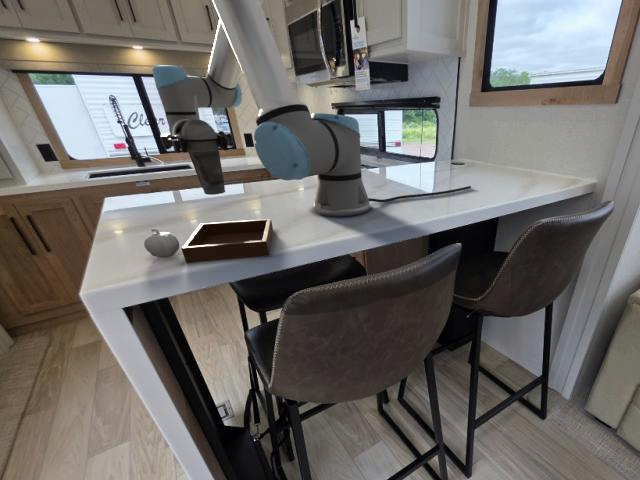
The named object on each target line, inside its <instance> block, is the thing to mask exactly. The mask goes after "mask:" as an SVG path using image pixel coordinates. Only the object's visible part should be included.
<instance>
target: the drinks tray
mask: <svg viewBox="0 0 640 480" xmlns="http://www.w3.org/2000/svg"><path fill="white" fill-rule="evenodd" d="M273 227H274V226H273V222H272V219H271V218H263V219H249V220H233V221H218V222H206V223H204V222H203V223H199V225H198V226H197V227H196V228H195V230H194V231H193V232H192V234H191V235H190V236H189V238H188V239H187V240H186V241H185V242H184V244H183V245H182V247H181V248H180V249H181V252H182V255H183V258H184V261H185V264H196V263H206V262H218V261H226V260H227V261H228V260H239V259H249V258H250V259H251V258H259V257H261V258H262V257H269V256H270V254H271V248H272V242H273V236H274V228H273Z"/></svg>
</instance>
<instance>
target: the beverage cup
mask: <svg viewBox="0 0 640 480" xmlns="http://www.w3.org/2000/svg"><path fill="white" fill-rule="evenodd" d="M193 96H194V103H195V109H196V116H197V120H188V121H187V122H185V124H184V125H183V127H182V131H181V135H182V138H183V139H184V142H185V145H186V149H187V153H188V155H189V157H190V160H191V162H192V165H193V168H194V170H195V173H196V176H197V179H198V181H199V183H200V186H201V188H202V190H203V193H204V194H205V195H208V196H209V195H210V196H211V195H215V196H216V195H220V194H224V193H226V186H225V185H226V184H225V179H224V174H223V168H222V160H221V154H220V150H219V149H220V148H219V143H218V140H219V139H218V138H217V135H216V133H215V132H216V131H215V129H214V128H213V126H211V124H209V123H208V122H206V121H205V120H203V119H201V118H200V112H199V108H198V104H197V98H196V96H195V95H193Z"/></svg>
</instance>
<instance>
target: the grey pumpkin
mask: <svg viewBox="0 0 640 480" xmlns="http://www.w3.org/2000/svg"><path fill="white" fill-rule="evenodd" d="M150 231H151V232H153V233H151V234H150V235H148V236H147V237H146V238H145V240H144V242H143V246H144V249H145V250H146V251H147V252H148V253H149V254H150V255H151V256H153V257H156V258H162V259H165V258H171V257H173V256H174V255H175V254H176V253H177V252H178V251H179V249H180V241H179V239H178V238H177V236H175V235H174V234H173V233H171V232H169V231H160V230H159V229H158V228H151V229H150Z"/></svg>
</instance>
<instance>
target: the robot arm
mask: <svg viewBox="0 0 640 480" xmlns="http://www.w3.org/2000/svg"><path fill="white" fill-rule="evenodd" d="M211 1H212V3H213V6H214V8H215V10H216V13H217V16H218V17H219V20H218V25H217V29H216V34H215V39H214V42H213V47H212V51H211V54H210V59H209V64H208V69H207V71H206V76H195V75H187V73H186V70H185V68H184V67H182V66H179V65H178V66H177V65H166V64H165V65H154V66H153V67H152V70H151V71H152V75H153V76H152V77H153V80H154V84H155V88H156V90H157V93H158V95H159V99H160V101H161V104H162V108H163V110H164V113H165V118H166V121H167V124H168V131H169V133H165V132H162V133H160V140H161V143H162V146H163V149H164V150H170V149H171V148H172V147H173V151H174V153H183V154H184V153H185V154H186V153H187V154H188V151H187V149H186V145H185V142H184V139H183V138H182V135H181V131H182V127H183V125H184V124H185V122H187V121H188V120H197V116H196V109H195V103H194V96H193V95H195V96H196V98H197V104H198V109H210V108H211V109H212V108H213V109H230V108H238V107H239V106H240V105H241V104H242V101H243V98H242V95H243V92H242V89H241V87H240V85H239V83H238V82H239V79H240V76H241V72H242V74H243V77H244V79H245V81H246V83H247V86H248V88H249V91H250V93H251V96H252V98H253V100H254V103H255V105H256V107H257V110H258V113H257V116H256V118H255V124H256V126H257V127H256V129H255V131H254V134H253V140H254V141H255V143H254V148H255V153H256V154H257V157H258V159H259V161H260V162H261V164H262V165H263V167H264V168H265V170H267V171H268V172H269V173H270V174H271V175H272V176H274V177H276V178H277V179H279V180H282V181H293V180H297V181H299V180H300V181H301V180H303V179H306V178H309V177H313V176H317V184H316V185H317V186H316V190H315V196H314V200H313V208H314V212H315V213H317V214H319V215H322V216H327V217H352V216H359V215H362V214H364V213H366V212H368V211H369V210H370V208H371V207H370V202H373V203H374V202H375V203H389V202H392V201H396V200H400V199H401V200H403V199H410V198H421V197H422V198H423V197H432V196H437V195H438V196H439V195H446V194H450V193H456V192H461V191H465V190H469V189H472V186H471V185H468V186H464V187H459V188H455V189H449V190H443V191H442V190H441V191H436V192H428V193H417V194H406V195H398V196H394V197H389V198H384V199H379V198H369V196H368V193H367V190H366V187H365V186H364V182H363V178H362V177H363V175H362V158H361V157H362V156H361V155H362V153H361V133H360V125H359V121H358V120H357V118H355V117H353V116H349V115H343V114H335V113H325V112H324V113H323V112H313V113H311V112H310V109H309V107H308V105H307V104H306V103H304V102H302V101H301V100H299V99H298V98H297V95H296V93H295V90H294V87H293V85H292V82H291V80H290V77H289V74H288V72H287V69H286V66H285V63H284V62H283V58H282V56H281V53H280V51H279V48H278V46H277V43H276V40H275V38H274V35H273V32H272V30H271V27H270V25H269V23H268V20H267V18H266V14H265V12H264V9H263V7H262V5H263V3H264V0H211ZM224 131H225V130H219V131H215V133H216V135H217V138H218V139H219V140H218V143H219V149H221V150H223V151H229V148H228V146H229V147H234V146H235V140H234V138H233V134H232V133H227V132H224Z"/></svg>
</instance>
